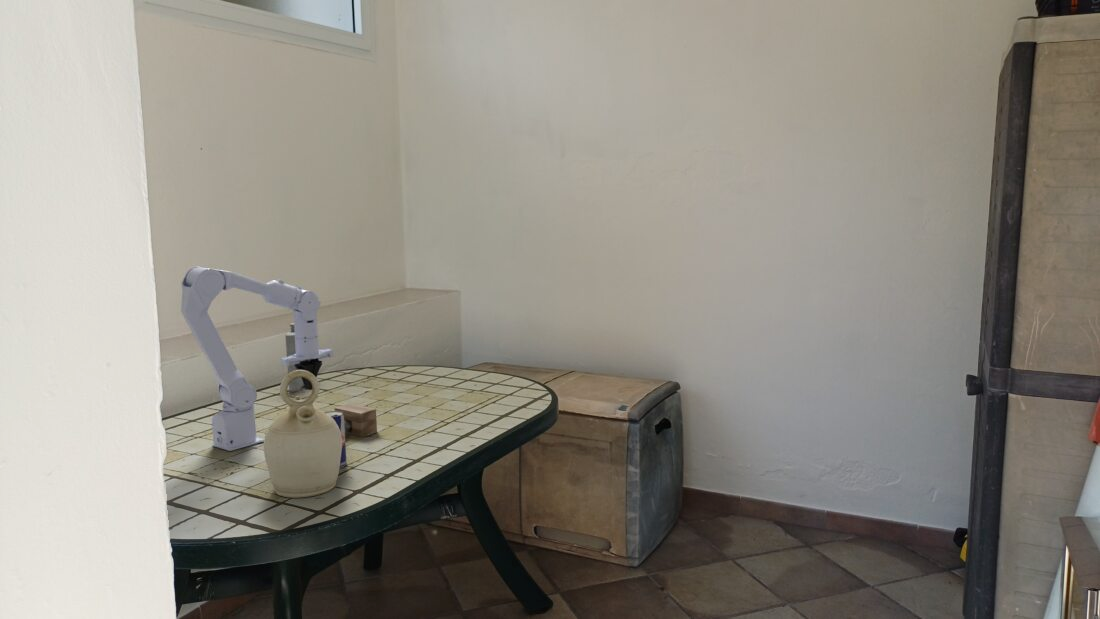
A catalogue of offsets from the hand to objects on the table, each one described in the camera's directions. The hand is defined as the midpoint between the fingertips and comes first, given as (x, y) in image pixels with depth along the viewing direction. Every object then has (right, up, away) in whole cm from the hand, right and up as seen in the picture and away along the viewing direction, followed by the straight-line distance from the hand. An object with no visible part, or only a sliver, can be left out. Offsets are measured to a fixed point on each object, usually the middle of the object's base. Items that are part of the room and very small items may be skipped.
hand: (309, 388), depth 213 cm
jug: (+11, -17, -41) cm, 46 cm away
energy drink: (+14, -15, -28) cm, 35 cm away
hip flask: (-17, -4, +49) cm, 52 cm away
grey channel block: (+8, -12, -8) cm, 16 cm away
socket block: (+12, -11, -2) cm, 17 cm away
